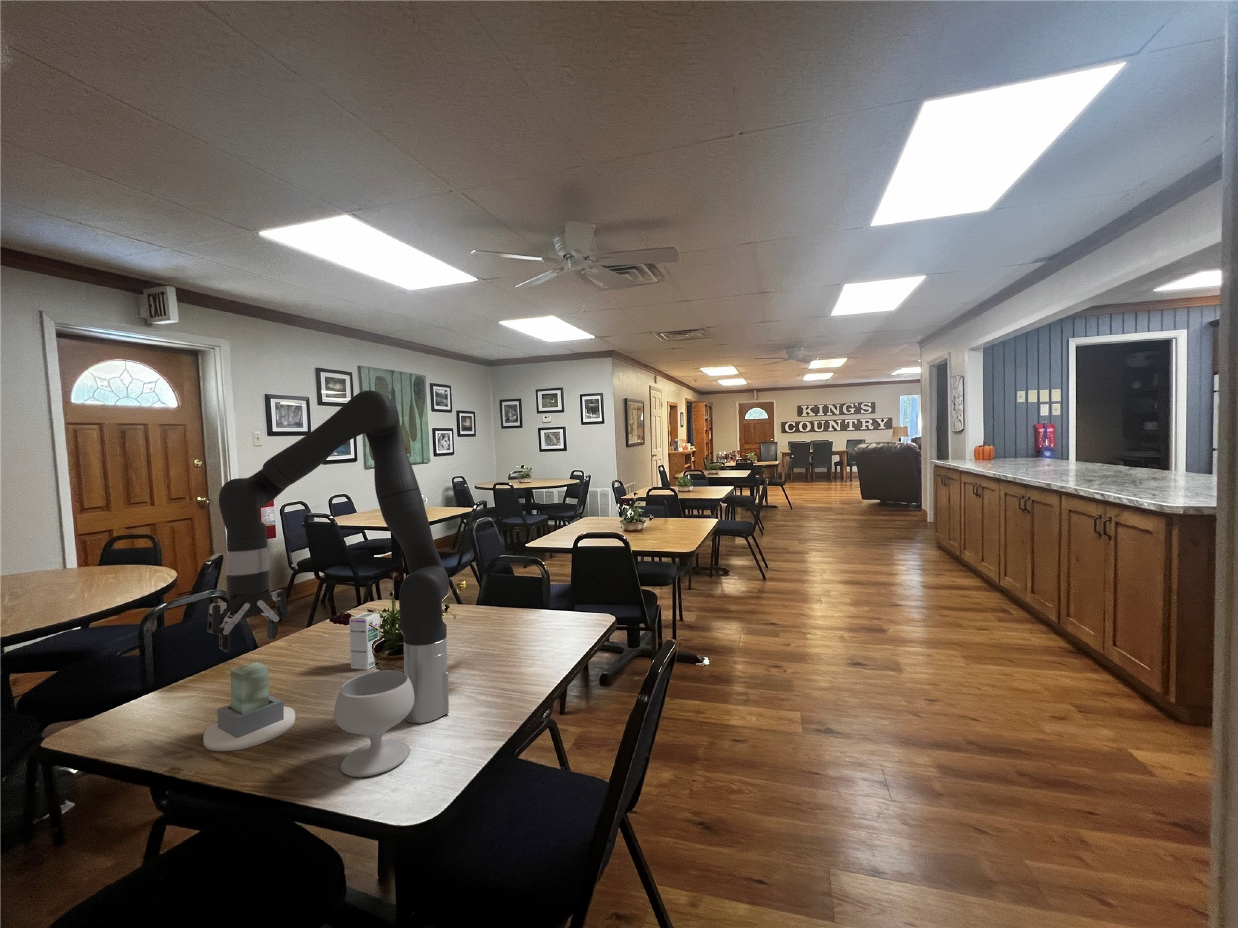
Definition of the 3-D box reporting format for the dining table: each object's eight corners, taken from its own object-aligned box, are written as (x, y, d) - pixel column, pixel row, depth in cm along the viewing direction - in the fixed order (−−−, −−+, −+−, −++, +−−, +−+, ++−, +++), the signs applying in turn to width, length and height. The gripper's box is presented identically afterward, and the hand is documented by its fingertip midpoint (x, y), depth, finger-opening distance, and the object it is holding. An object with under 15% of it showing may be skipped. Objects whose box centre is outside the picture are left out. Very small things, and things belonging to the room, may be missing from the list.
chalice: (381, 734, 107) (381, 663, 107) (430, 749, 101) (429, 674, 101) (317, 770, 94) (317, 690, 94) (369, 790, 88) (368, 704, 88)
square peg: (257, 715, 112) (256, 661, 112) (268, 721, 110) (268, 666, 110) (231, 725, 108) (230, 669, 108) (242, 731, 105) (241, 674, 105)
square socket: (273, 706, 120) (272, 683, 120) (309, 722, 112) (309, 698, 112) (189, 737, 106) (189, 711, 106) (224, 759, 98) (224, 731, 98)
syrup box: (368, 670, 141) (367, 618, 141) (349, 668, 142) (349, 617, 142) (381, 662, 146) (380, 612, 146) (363, 661, 147) (363, 611, 147)
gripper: (216, 578, 101) (218, 659, 101) (292, 565, 113) (294, 637, 113) (200, 575, 105) (202, 652, 105) (275, 562, 117) (277, 632, 117)
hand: (250, 644), depth 109 cm, fingers open, 8 cm apart
